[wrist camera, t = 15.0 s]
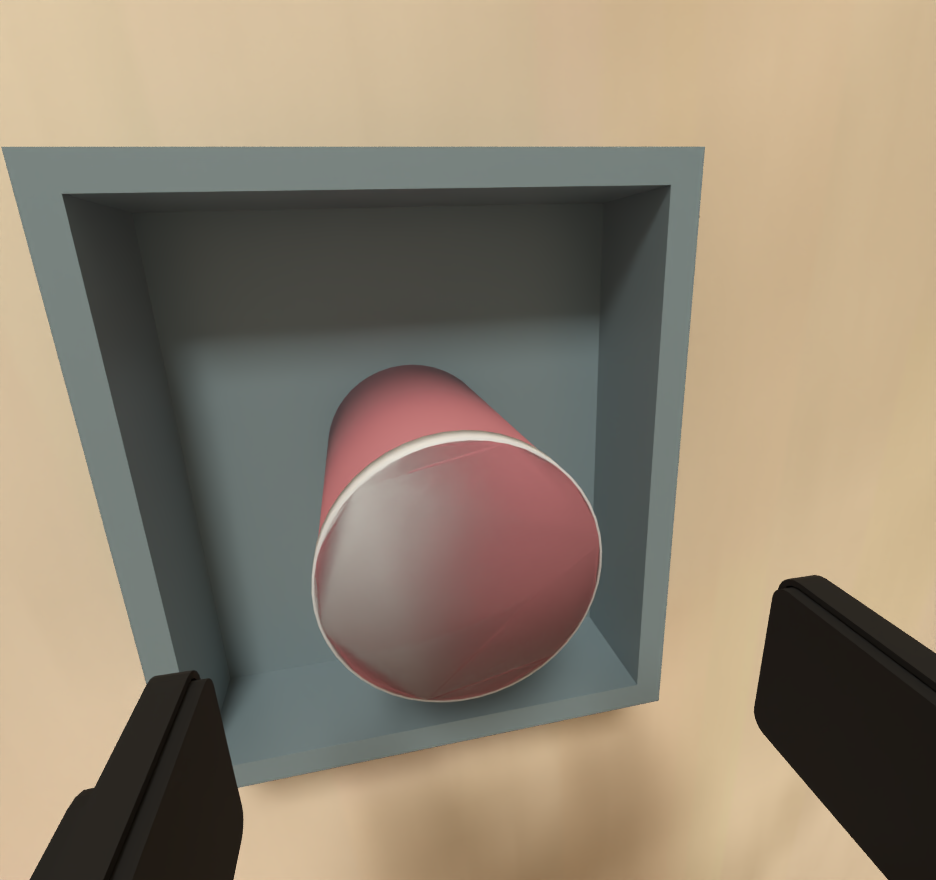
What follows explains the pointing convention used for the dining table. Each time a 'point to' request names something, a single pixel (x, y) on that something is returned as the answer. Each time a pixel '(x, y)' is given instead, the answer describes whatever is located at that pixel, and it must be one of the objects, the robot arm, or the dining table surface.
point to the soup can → (446, 542)
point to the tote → (341, 369)
